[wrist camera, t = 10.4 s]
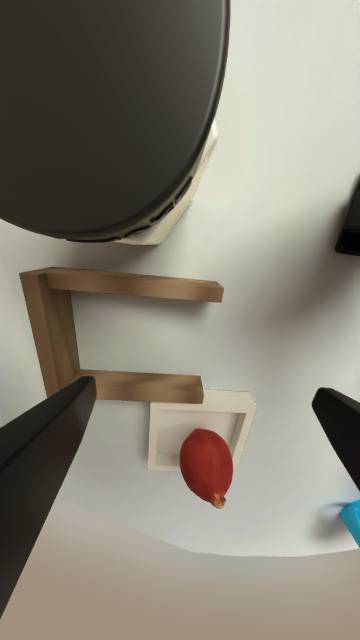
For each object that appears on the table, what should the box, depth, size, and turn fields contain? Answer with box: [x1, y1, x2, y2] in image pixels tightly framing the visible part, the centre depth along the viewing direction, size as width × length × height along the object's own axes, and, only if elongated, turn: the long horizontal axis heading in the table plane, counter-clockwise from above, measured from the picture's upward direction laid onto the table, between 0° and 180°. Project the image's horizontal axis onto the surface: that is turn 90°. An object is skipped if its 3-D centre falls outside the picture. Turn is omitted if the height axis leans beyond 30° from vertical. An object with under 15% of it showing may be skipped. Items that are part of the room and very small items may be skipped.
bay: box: [19, 267, 224, 404], centre depth 18 cm, size 15×12×4 cm
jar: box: [0, 0, 230, 245], centre depth 9 cm, size 9×8×12 cm
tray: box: [148, 390, 257, 472], centre depth 24 cm, size 12×12×2 cm
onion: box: [179, 428, 233, 509], centre depth 20 cm, size 6×6×8 cm
